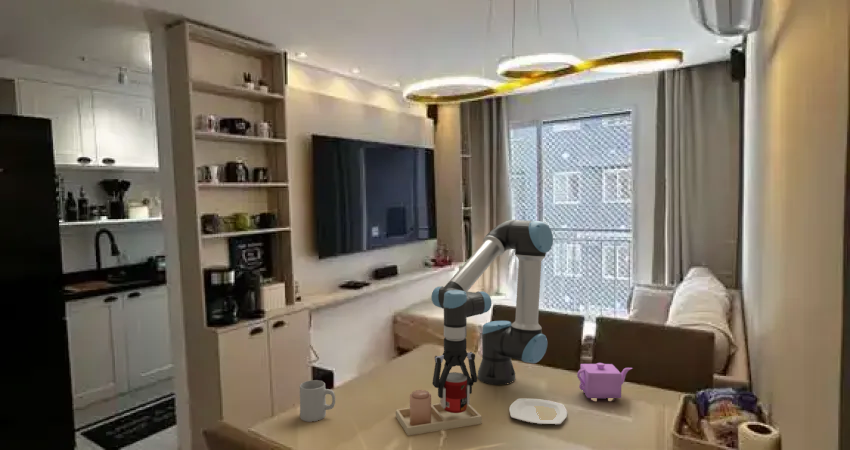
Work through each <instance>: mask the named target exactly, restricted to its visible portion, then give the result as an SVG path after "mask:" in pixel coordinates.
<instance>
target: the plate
mask: <svg viewBox="0 0 850 450" xmlns="http://www.w3.org/2000/svg"><path fill="white" fill-rule="evenodd" d="M534 406H544V407H549V408H554V409H555V411H556V413H557V415H556V417H555V418H554V419H553V420H540V419H541V418H540V419H539V416H538V415H539V414H538V415H537V413H538V412H537V413H536V408H535V407H534ZM509 414H510V418H512V419H516V420H518V421H521V420H522V421H521V422H525V421H526V422H525V423H529V422H530V423H529V424H533V423H537V424H536V425H542V424H555V425H561V424H562V423H563V422H564V421H565V419H566V418H567V416H568V410H567V408H566V407H565V405H564V403H560V402H557V401H556V402H555V401H552V400H548V399H542V398H541V399H540V398H528V397H527V398H520V397H519V398H517V399H515V401H513V402H512V403H511V405H509Z"/></svg>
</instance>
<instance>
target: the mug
mask: <svg viewBox="0 0 850 450" xmlns="http://www.w3.org/2000/svg"><path fill="white" fill-rule="evenodd" d="M326 395H331V399H332V400H331V401H332V402H331V404H327V401H326ZM335 406H336V394H335V392H334V390H332V389H329V388H326V383H325V382H324V381H323V380H318V379H314V380H313V379H312V380H306V381H304V382H301V383H300V385H299V417H300V419H301V421H303V422H309V423H310V422H312V421H314V422H318V420H319V421H321V420H323V419H324V418H325V417H326V415H327V410H328V411H329V410H333V408H334V407H335ZM312 423H313V422H312Z"/></svg>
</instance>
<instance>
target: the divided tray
mask: <svg viewBox="0 0 850 450" xmlns="http://www.w3.org/2000/svg"><path fill="white" fill-rule="evenodd" d="M482 417H483V416H482V415H481V414H480V413H479V412H478V411H477V410H476V409H475V408H474V407H473V406H472V405H470V403H469V405H467V408H466V410H465V411H464V412H461V413H450V412H447V411H446V410H445V409H443V408H442V406H441V402H438V403H431V423H428V424H422V425H416V426H412V425H411V424H410V407H405V408H398V409H395V418H396V419H397V421H398V423H399V424H400V426H401V427H402V429H403V430H404V432H405V434H406V435H407V436H408V437H409V436H413V435H415V436H416V435H420V434H427V433H433V432H439V431H446V430H451V429H457V428H463V427H464V428H465V427H469V426H475V425H481V424H482V423H483V421H482Z"/></svg>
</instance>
